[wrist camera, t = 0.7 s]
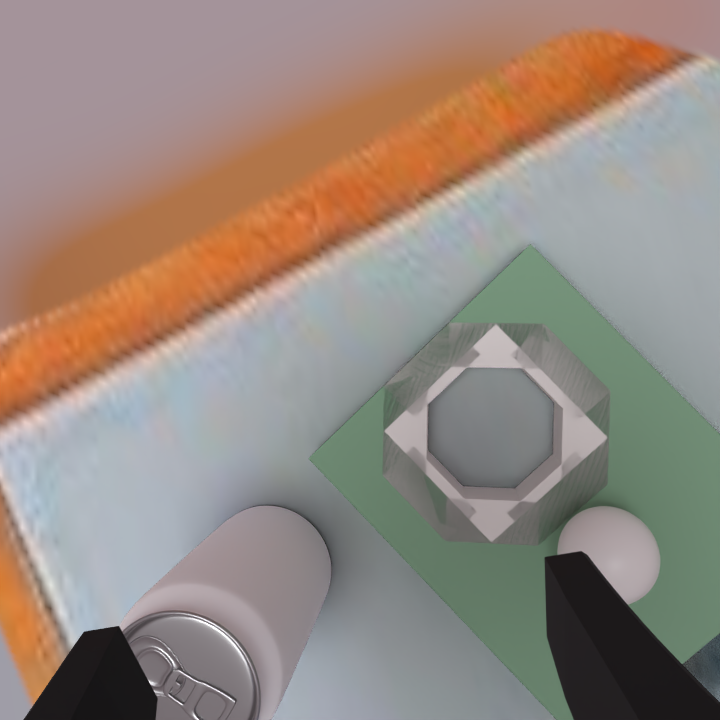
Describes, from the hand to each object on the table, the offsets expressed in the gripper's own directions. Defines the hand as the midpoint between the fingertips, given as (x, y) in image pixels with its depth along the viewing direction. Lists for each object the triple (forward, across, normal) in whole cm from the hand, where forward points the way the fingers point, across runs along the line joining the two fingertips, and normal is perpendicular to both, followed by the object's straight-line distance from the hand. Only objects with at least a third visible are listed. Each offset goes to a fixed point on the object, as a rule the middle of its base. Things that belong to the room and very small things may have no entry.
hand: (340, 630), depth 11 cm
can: (+17, +6, +16) cm, 24 cm away
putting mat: (+16, -8, +13) cm, 23 cm away
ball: (+12, -9, +13) cm, 20 cm away
